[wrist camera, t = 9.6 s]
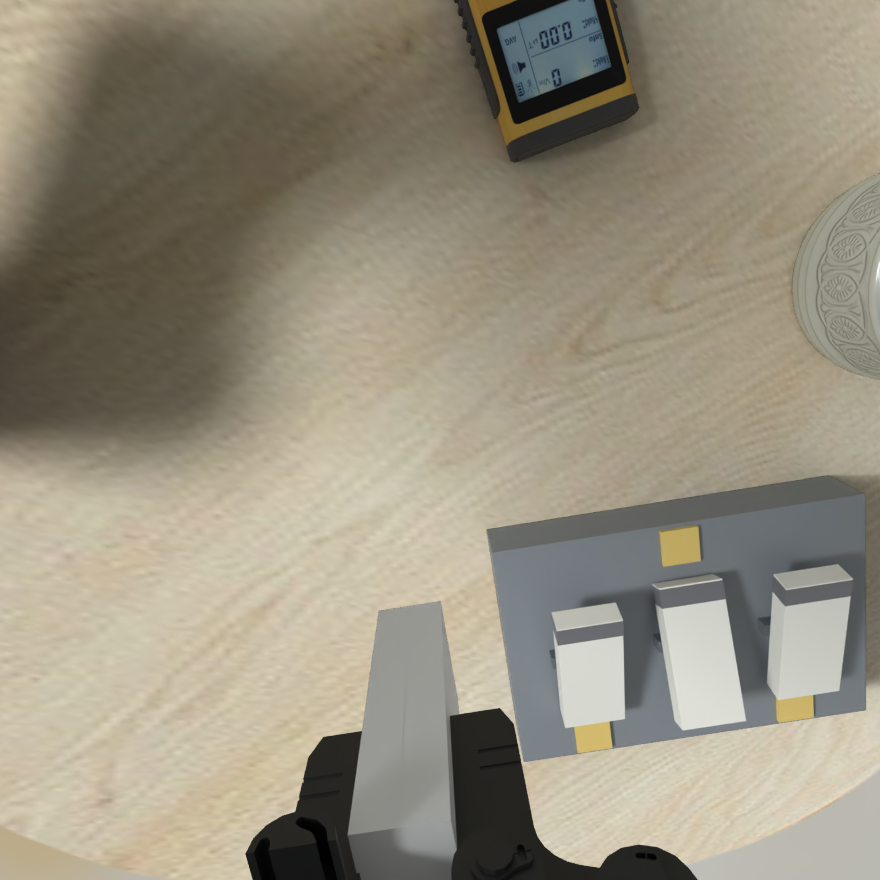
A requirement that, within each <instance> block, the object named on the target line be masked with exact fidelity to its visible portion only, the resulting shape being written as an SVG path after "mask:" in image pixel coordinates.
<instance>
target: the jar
mask: <svg viewBox="0 0 880 880" xmlns="http://www.w3.org/2000/svg"><path fill="white" fill-rule="evenodd" d="M792 296H793V304H794V310H795V313H796V317H797V320H798V322H799V325H800V327H801V329H802V331H803V333H804V334H805V336H806V337H807V339H808V340H809V342H810V343H811V344H812V345H813V347H814V348H815V349H816V350H817V351H818V352H820V353H821V354H822V355H823V356H825V357H826V358H828V359H829V360H831V361H832V362H834V363H835V364H837V365H838V366H840V367H842V368H843V369H845V370H847V371H850V372H852V373H855V374H858V375H861V376H865V377H869V378H873V379H878V380H880V173H879V174H876V175H874V176H872V177H870V178H868V179H866V180H864V181H863V182H861V183H859V184H858V185H856V186H854V187H852V188H851V189H849V190H847V191H846V192H845V193H843V194H842V195H840V196H839V197H838V198H837V199H835V200H834V201H833V202H832V203H831V204H830V205H829V206H828V207H827V208H826V209H825V210H824V211H823V212H822V213H821V214H820V216H819V217H818V218H817V219H816V221H815V222H814V223H813V225H812V226H811V228H810V230H809V231H808V233H807V235H806V237H805V239H804V240H803V243H802V245H801V247H800V250H799V253H798V255H797V259H796V262H795V267H794V272H793V281H792Z"/></svg>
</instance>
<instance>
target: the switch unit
mask: <svg viewBox="0 0 880 880" xmlns="http://www.w3.org/2000/svg"><path fill="white" fill-rule="evenodd" d="M487 536H488V543H489V549H490V556H491V562H492V569H493V575H494V582H495V588H496V595H497V601H498V608H499V614H500V621H501V627H502V634H503V641H504V647H505V654H506V660H507V667H508V673H509V680H510V686H511V693H512V699H513V706H514V712H515V719H516V725H517V730H518V735H519V740H520V745H521V750H522V755H523V760H524V762H528V761H534V760H541V759H547V758H554V757H561V756H567V755H574V754H580V753H587V752H594V751H600V750H607V749H613V748H620V747H627V746H633V745H640V744H646V743H653V742H660V741H666V740H673V739H679V738H686V737H693V736H699V735H706V734H712V733H719V732H726V731H732V730H739V729H745V728H752V727H758V726H765V725H772V724H778V723H785V722H791V721H798V720H805V719H811V718H818V717H824V716H831V715H838V714H844V713H851V712H857V711H864V710H866V604H865V494H864V493H862V492H860V491H858V490H856V489H854V488H852V487H850V486H848V485H846V484H844V483H842V482H840V481H838V480H836V479H834V478H832V477H830V476H822V477H816V478H810V479H803V480H797V481H791V482H784V483H778V484H772V485H765V486H759V487H753V488H746V489H740V490H734V491H727V492H721V493H715V494H708V495H702V496H696V497H690V498H683V499H677V500H671V501H664V502H658V503H652V504H645V505H639V506H633V507H626V508H620V509H614V510H607V511H601V512H595V513H588V514H582V515H576V516H569V517H563V518H557V519H551V520H544V521H538V522H532V523H525V524H519V525H513V526H506V527H500V528H494V529H487ZM836 564H838V565H839V566H840V567H841V568H842V569H844V570H845V571H846V572H847V573H848V574H849V575H850V576H851V577H852V578H853V586H852V594H851V598H850V606H849V614H848V623H847V631H846V639H845V647H844V655H843V664H842V672H841V680H840V688H839V691H835V692H829V693H822V694H816V695H809V696H802V697H796V698H789V699H783V700H778V699H777V698H776V696H775V695H774V693H773V692H772V690H771V689H770V687H769V686H768V684H767V673H768V657H769V641H770V625H771V609H772V593H773V591H772V585H773V575H774V574H778V573H784V572H791V571H797V570H804V569H810V568H817V567H823V566H829V565H836ZM710 574H714V575H716V576H718V577H720V578H722V580H723V583H724V589H725V595H726V604H727V610H728V616H729V622H730V628H731V634H732V640H733V646H734V652H735V658H736V664H737V670H738V675H739V681H740V687H741V693H742V699H743V705H744V711H745V717H746V721H743V722H736V723H729V724H723V725H716V726H710V727H703V728H696V729H690V730H682V729H681V728H680V727H679V725H678V724H677V723H676V722H675V720H674V713H673V707H672V701H671V695H670V689H669V683H668V677H667V671H666V665H665V659H664V653H663V647H662V641H661V635H660V629H659V623H658V617H657V611H656V605H655V601H654V595H653V589H652V584H653V583H659V582H665V581H672V580H678V579H685V578H691V577H698V576H704V575H710ZM615 602H616V604H617V607H618V609H619V612H620V614H621V616H622V619H623V624H624V636H623V645H624V695H625V719H622V720H616V721H609V722H603V723H596V724H589V725H583V726H576V727H570V728H565V725H564V721H563V718H562V714H561V710H560V700H559V689H558V678H557V667H556V656H555V645H554V634H553V627H552V616H551V613H552V612H557V611H564V610H570V609H577V608H583V607H589V606H596V605H602V604H609V603H615Z"/></svg>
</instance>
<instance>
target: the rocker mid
mask: <svg viewBox="0 0 880 880" xmlns="http://www.w3.org/2000/svg"><path fill="white" fill-rule="evenodd" d="M652 589H653V595H654V601H655V605H656V611H657V617H658V623H659V629H660V635H661V641H662V647H663V653H664V659H665V665H666V671H667V677H668V683H669V689H670V695H671V701H672V707H673V713H674V720H675V722H676V723H677V724H678V725H679V727H680V728H681V729H682V730H690V729H696V728H703V727H710V726H716V725H723V724H729V723H736V722H743V721H746V717H745V711H744V705H743V699H742V693H741V687H740V681H739V675H738V670H737V664H736V658H735V652H734V646H733V640H732V634H731V628H730V622H729V616H728V610H727V604H726V595H725V589H724V583H723V580H722V578H720V577H718V576H716V575H714V574H710V575H704V576H698V577H691V578H685V579H678V580H672V581H665V582H659V583H653V584H652Z"/></svg>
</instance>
